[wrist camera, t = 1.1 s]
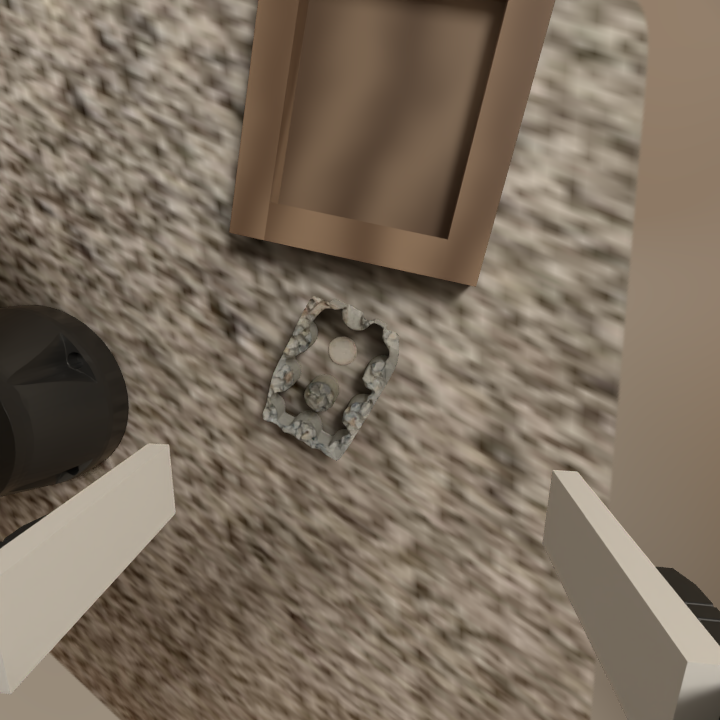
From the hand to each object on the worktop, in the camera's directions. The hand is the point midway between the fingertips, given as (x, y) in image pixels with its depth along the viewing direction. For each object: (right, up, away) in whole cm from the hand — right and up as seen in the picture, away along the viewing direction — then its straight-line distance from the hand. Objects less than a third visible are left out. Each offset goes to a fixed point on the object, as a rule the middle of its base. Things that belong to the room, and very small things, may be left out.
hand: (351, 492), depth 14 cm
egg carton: (-2, +4, +18) cm, 19 cm away
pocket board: (+2, +21, +14) cm, 25 cm away
